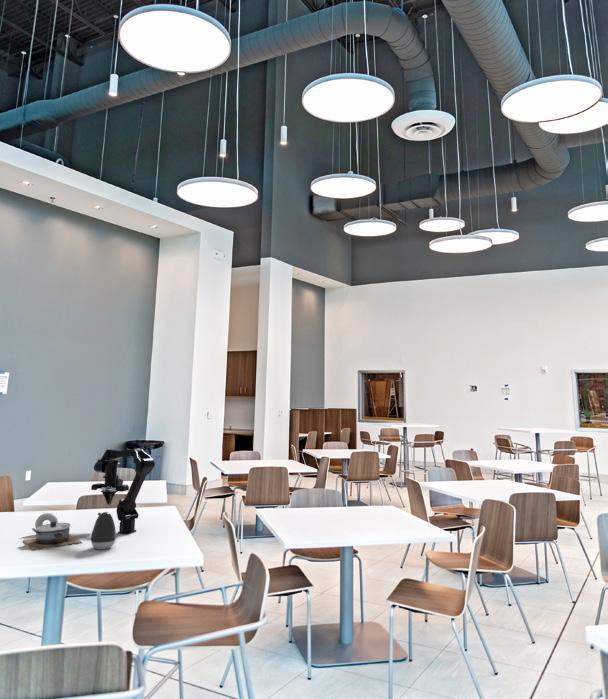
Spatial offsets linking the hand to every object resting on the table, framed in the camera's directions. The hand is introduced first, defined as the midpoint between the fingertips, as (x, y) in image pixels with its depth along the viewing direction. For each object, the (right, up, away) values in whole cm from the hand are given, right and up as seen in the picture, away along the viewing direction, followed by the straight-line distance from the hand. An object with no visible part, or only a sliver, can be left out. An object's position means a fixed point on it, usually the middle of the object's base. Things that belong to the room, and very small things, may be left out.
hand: (109, 504), depth 259 cm
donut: (-25, -10, -15) cm, 31 cm away
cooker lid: (-14, -2, -30) cm, 33 cm away
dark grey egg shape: (+13, -7, -40) cm, 42 cm away
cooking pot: (-14, -8, -31) cm, 35 cm away
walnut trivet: (-14, -8, -31) cm, 35 cm away
